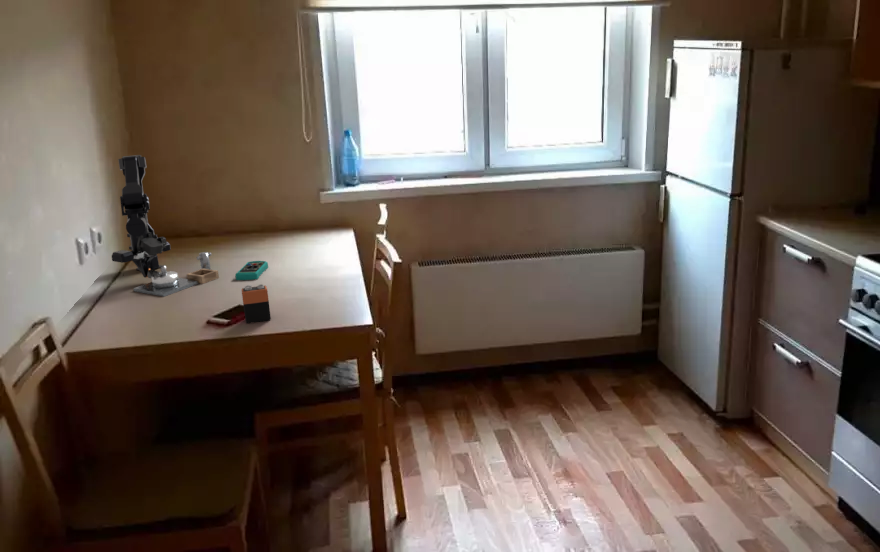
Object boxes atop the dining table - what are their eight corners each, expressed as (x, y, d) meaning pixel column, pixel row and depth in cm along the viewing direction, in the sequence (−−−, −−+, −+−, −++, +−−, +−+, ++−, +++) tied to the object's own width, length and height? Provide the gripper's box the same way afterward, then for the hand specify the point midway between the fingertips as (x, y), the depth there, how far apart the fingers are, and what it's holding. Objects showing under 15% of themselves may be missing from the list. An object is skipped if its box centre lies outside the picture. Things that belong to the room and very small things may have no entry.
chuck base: (133, 291, 248) (133, 288, 248) (168, 278, 259) (168, 276, 259) (163, 296, 241) (163, 293, 241) (198, 283, 252) (197, 280, 252)
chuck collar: (183, 282, 250) (181, 264, 248) (161, 289, 244) (158, 271, 243) (157, 275, 260) (154, 258, 258) (135, 281, 254) (132, 263, 252)
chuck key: (196, 275, 262) (193, 255, 260) (210, 270, 267) (207, 250, 265) (202, 276, 261) (199, 256, 259) (216, 271, 266) (213, 251, 264)
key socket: (187, 281, 256) (186, 274, 255) (204, 275, 261) (203, 268, 260) (202, 283, 252) (201, 276, 251) (218, 277, 258) (217, 270, 257)
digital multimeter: (269, 267, 268) (268, 259, 267) (257, 280, 254) (256, 272, 253) (248, 268, 268) (247, 260, 267) (235, 281, 254) (234, 273, 253)
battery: (245, 319, 217) (240, 285, 215) (269, 315, 219) (265, 281, 216) (245, 324, 213) (241, 289, 211) (271, 320, 215) (266, 286, 212)
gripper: (130, 238, 238) (137, 287, 242) (178, 226, 253) (185, 272, 257) (107, 235, 243) (114, 283, 247) (156, 223, 258) (162, 269, 263)
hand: (145, 277), depth 253 cm, fingers closed
